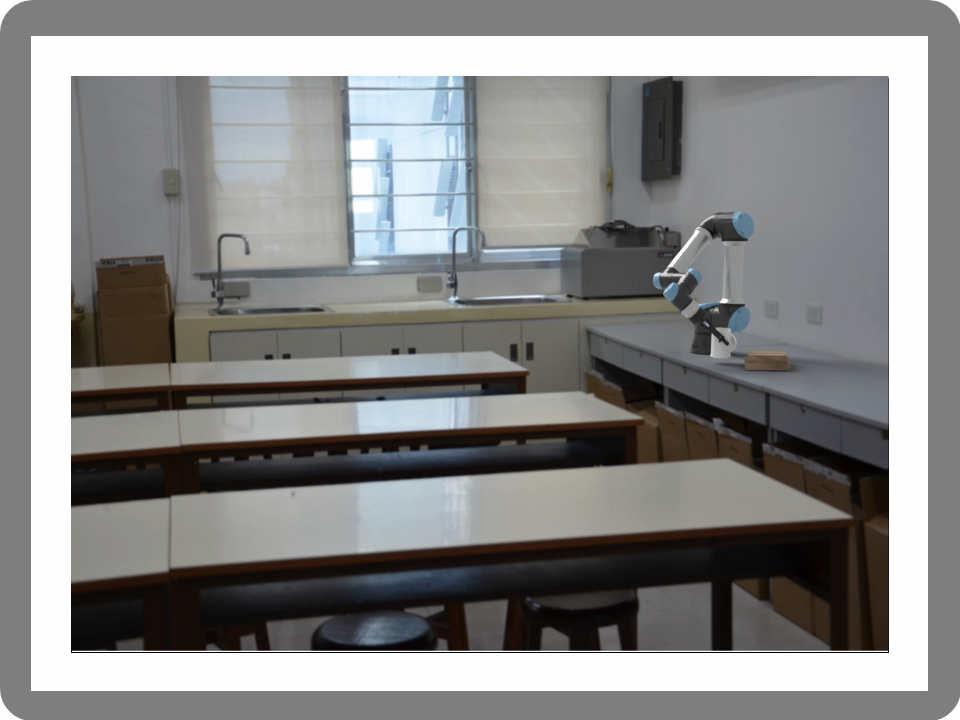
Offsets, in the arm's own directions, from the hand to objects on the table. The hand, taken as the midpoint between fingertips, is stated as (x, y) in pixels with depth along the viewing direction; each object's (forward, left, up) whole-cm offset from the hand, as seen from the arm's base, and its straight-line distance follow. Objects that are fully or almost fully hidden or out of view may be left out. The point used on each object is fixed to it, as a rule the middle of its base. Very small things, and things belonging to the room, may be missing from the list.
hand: (731, 348), depth 413 cm
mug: (+1, -3, -4) cm, 5 cm away
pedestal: (+9, +14, -7) cm, 18 cm away
